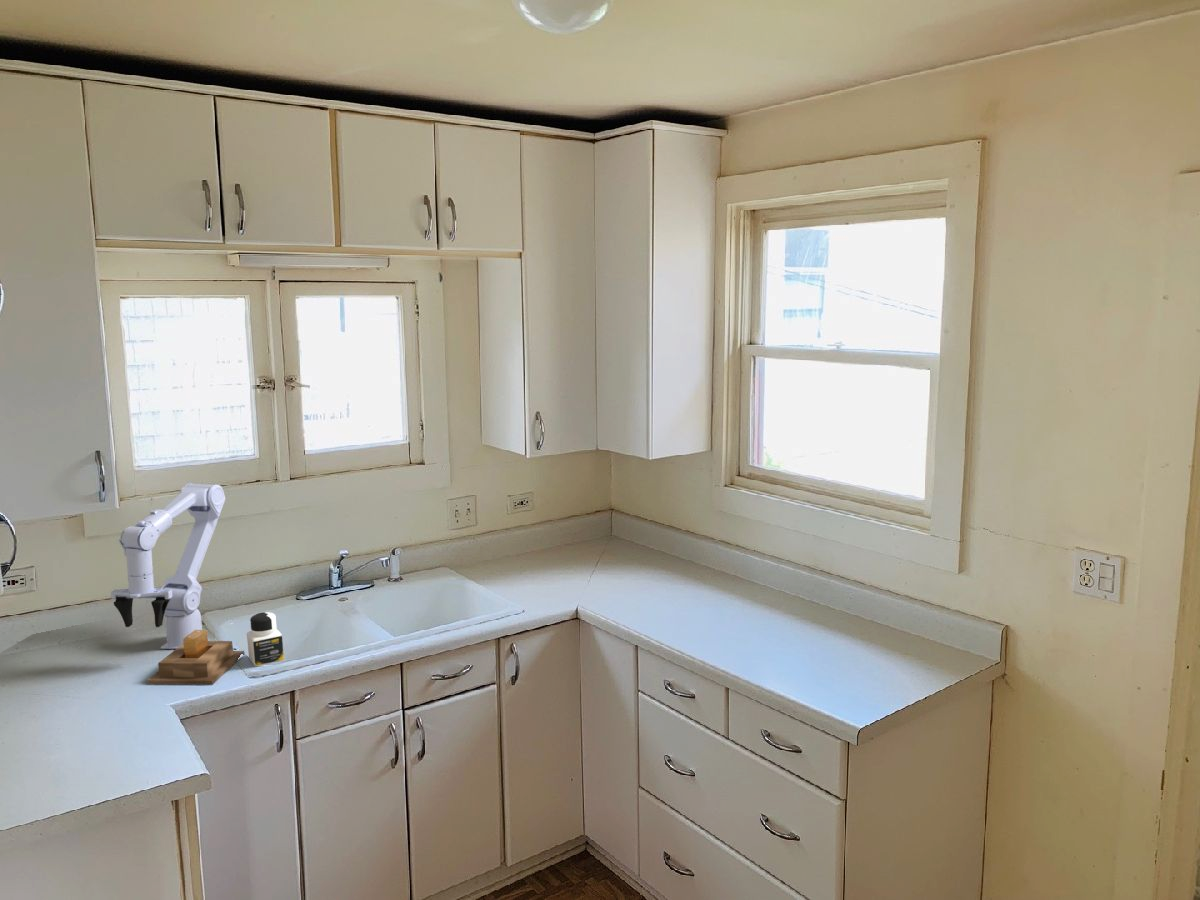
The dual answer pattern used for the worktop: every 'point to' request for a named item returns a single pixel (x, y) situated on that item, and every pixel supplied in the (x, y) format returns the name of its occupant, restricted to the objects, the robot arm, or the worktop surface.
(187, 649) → the wooden peg block
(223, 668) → the well board
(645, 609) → the worktop surface
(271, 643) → the medicine bottle
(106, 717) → the worktop surface
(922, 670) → the worktop surface
